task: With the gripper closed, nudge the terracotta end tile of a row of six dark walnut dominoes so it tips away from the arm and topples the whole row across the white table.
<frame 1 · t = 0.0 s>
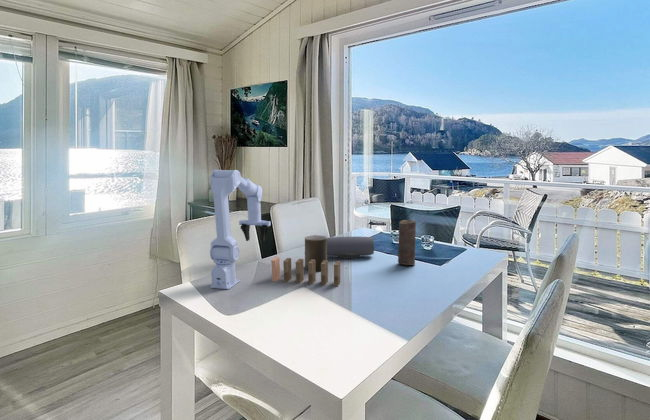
hand: (255, 240, 171), 10 cm above the table, tool pointing down, fingers open, 7 cm apart
brown wooden cylinder: (406, 265, 167), on the table
domino 6: (337, 284, 144), on the table
domino 1: (276, 279, 150), on the table
domino 3: (299, 281, 148), on the table
bluetooth speaker: (348, 257, 179), on the table
domino 4: (312, 282, 147), on the table
domino 5: (324, 283, 145), on the table
domino 2: (287, 280, 149), on the table
pillar candle: (316, 268, 164), on the table
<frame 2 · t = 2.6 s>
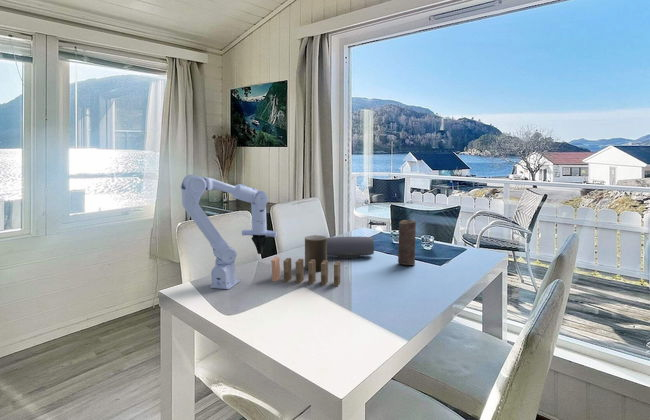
hand: (260, 253, 152), 10 cm above the table, tool pointing down, fingers closed
nothing on the table moved.
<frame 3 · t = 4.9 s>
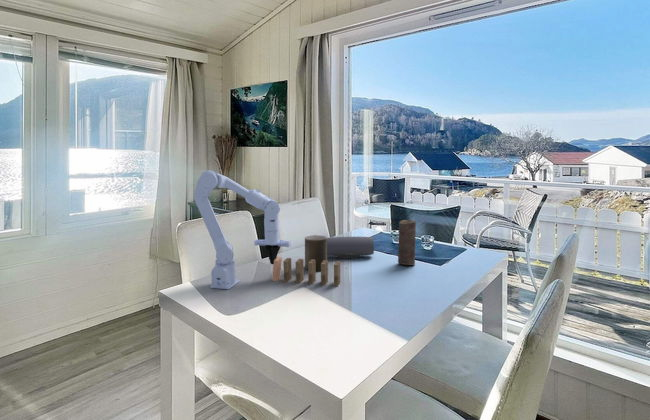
hand: (273, 263, 149), 6 cm above the table, tool pointing down, fingers closed
domino 1: (276, 279, 150), on the table, tilted 7°
everything else where it was.
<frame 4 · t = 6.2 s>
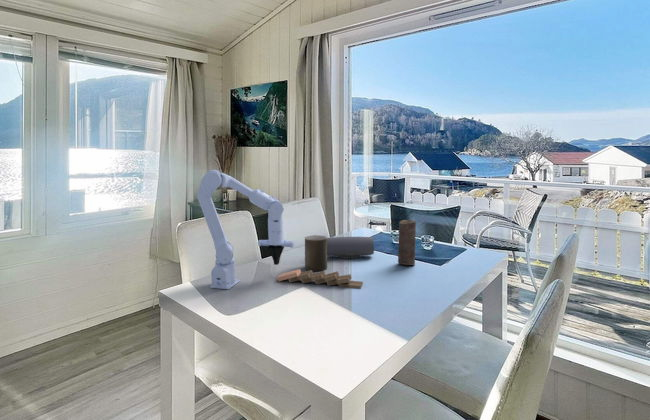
hand: (276, 263, 149), 6 cm above the table, tool pointing down, fingers closed
domino 6: (339, 283, 144), on the table, tilted 90°
domino 1: (279, 277, 150), point 1 cm above the table, tilted 71°, touching domino 2
domino 3: (303, 279, 147), point 1 cm above the table, tilted 72°, touching domino 4
domino 4: (317, 280, 146), point 1 cm above the table, tilted 70°, touching domino 3, domino 5
domino 5: (328, 281, 145), point 1 cm above the table, tilted 76°, touching domino 4
domino 2: (291, 278, 149), point 1 cm above the table, tilted 72°, touching domino 1
everything else where it was.
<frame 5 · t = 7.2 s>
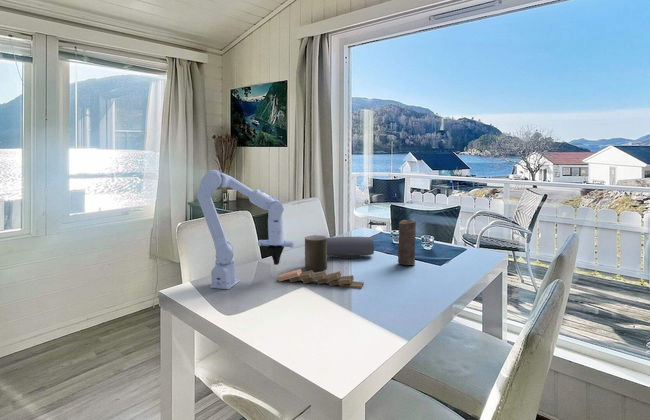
hand: (276, 263, 149), 6 cm above the table, tool pointing down, fingers closed
domino 6: (340, 284, 144), on the table, tilted 90°, touching domino 5
domino 3: (304, 279, 147), point 1 cm above the table, tilted 72°
domino 4: (319, 280, 146), point 1 cm above the table, tilted 70°, touching domino 5
domino 5: (331, 281, 145), point 1 cm above the table, tilted 77°, touching domino 4, domino 6
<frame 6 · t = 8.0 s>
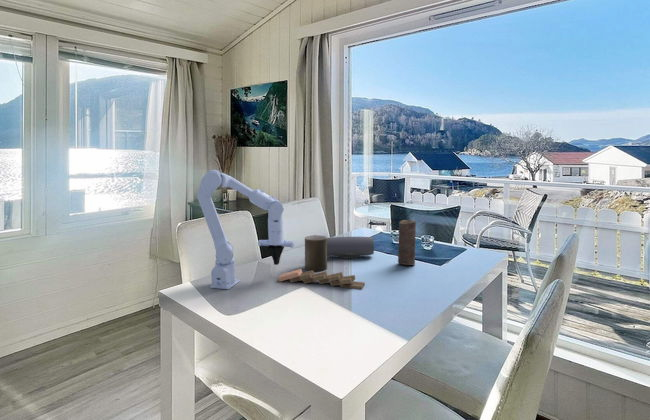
hand: (276, 263, 149), 6 cm above the table, tool pointing down, fingers closed
domino 3: (305, 279, 147), point 1 cm above the table, tilted 73°, touching domino 2, domino 4
domino 4: (321, 280, 146), point 1 cm above the table, tilted 71°, touching domino 3, domino 5
domino 2: (292, 278, 149), point 1 cm above the table, tilted 73°, touching domino 1, domino 3
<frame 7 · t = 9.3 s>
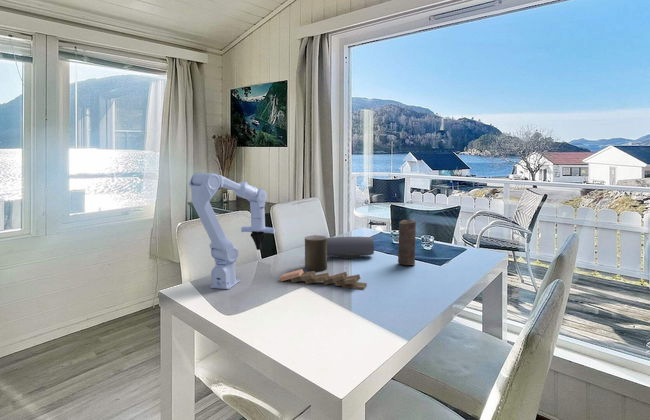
hand: (259, 249, 158), 10 cm above the table, tool pointing down, fingers closed
domino 6: (343, 284, 143), on the table, tilted 90°
domino 4: (325, 280, 146), point 1 cm above the table, tilted 69°, touching domino 3, domino 5
domino 5: (338, 282, 144), point 1 cm above the table, tilted 72°, touching domino 4
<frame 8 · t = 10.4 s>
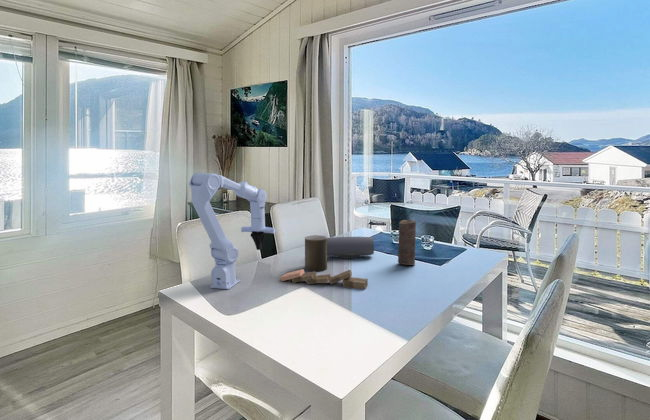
hand: (259, 249, 158), 10 cm above the table, tool pointing down, fingers closed
domino 6: (344, 284, 144), on the table, tilted 90°, touching domino 5
domino 4: (330, 280, 145), point 1 cm above the table, tilted 66°, touching domino 3, domino 5
domino 5: (344, 280, 144), point 2 cm above the table, tilted 90°, touching domino 4, domino 6
at the end: domino 6 tilted 90°; domino 3 tilted 78° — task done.
